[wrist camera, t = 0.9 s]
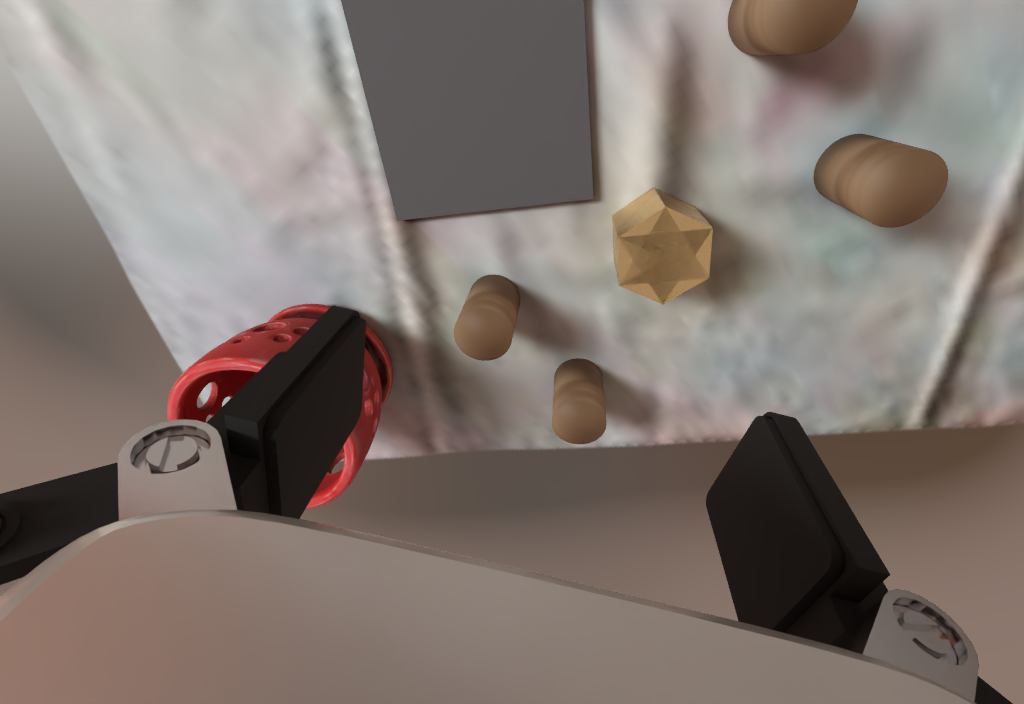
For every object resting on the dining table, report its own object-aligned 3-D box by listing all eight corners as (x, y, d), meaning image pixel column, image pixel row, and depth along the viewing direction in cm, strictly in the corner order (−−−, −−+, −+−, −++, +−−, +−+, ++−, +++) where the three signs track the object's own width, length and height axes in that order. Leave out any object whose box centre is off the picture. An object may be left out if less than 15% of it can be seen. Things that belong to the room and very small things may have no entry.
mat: (580, -67, 26) (580, -69, 26) (593, 196, 33) (593, 199, 33) (340, -19, 28) (335, -20, 28) (399, 218, 35) (397, 220, 35)
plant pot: (424, 407, 44) (380, 510, 34) (295, 416, 47) (218, 515, 37) (382, 275, 38) (312, 354, 28) (235, 293, 40) (121, 372, 30)
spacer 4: (891, 129, 29) (959, 144, 24) (875, 196, 31) (934, 223, 26) (819, 138, 30) (870, 154, 25) (808, 203, 32) (853, 231, 27)
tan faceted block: (611, 191, 33) (617, 211, 29) (695, 182, 32) (715, 201, 28) (614, 278, 36) (619, 307, 32) (690, 271, 35) (707, 301, 31)
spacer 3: (810, -39, 26) (870, -63, 21) (798, 49, 28) (849, 47, 23) (731, -25, 26) (769, -45, 21) (724, 60, 28) (758, 60, 23)
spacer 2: (601, 357, 40) (605, 401, 35) (602, 396, 42) (607, 443, 37) (552, 360, 40) (549, 403, 35) (556, 398, 42) (554, 444, 37)
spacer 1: (516, 272, 37) (507, 307, 31) (522, 319, 39) (515, 358, 34) (465, 276, 37) (448, 311, 32) (474, 322, 39) (459, 362, 34)
